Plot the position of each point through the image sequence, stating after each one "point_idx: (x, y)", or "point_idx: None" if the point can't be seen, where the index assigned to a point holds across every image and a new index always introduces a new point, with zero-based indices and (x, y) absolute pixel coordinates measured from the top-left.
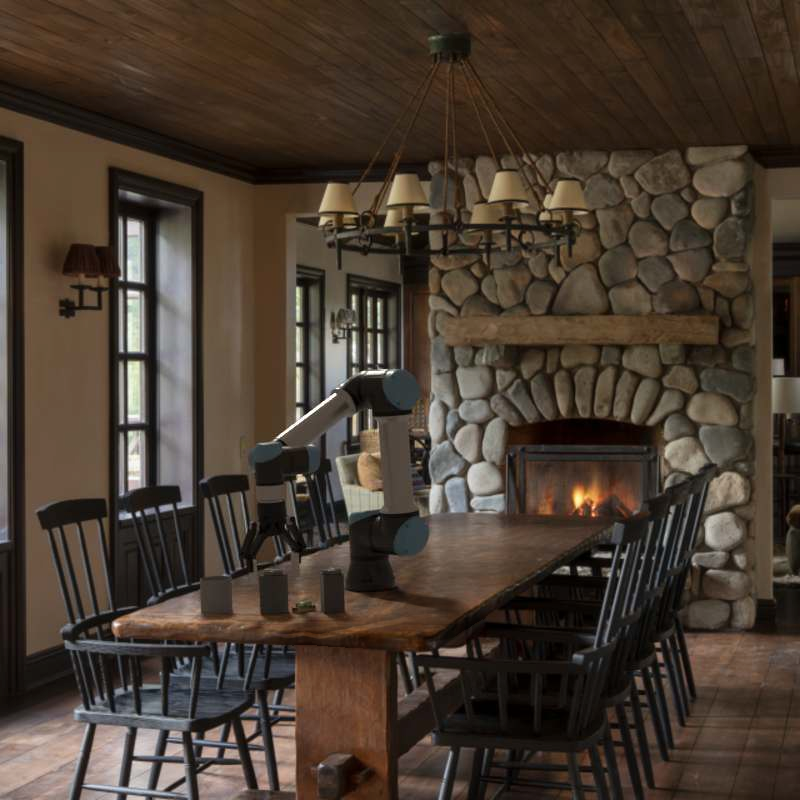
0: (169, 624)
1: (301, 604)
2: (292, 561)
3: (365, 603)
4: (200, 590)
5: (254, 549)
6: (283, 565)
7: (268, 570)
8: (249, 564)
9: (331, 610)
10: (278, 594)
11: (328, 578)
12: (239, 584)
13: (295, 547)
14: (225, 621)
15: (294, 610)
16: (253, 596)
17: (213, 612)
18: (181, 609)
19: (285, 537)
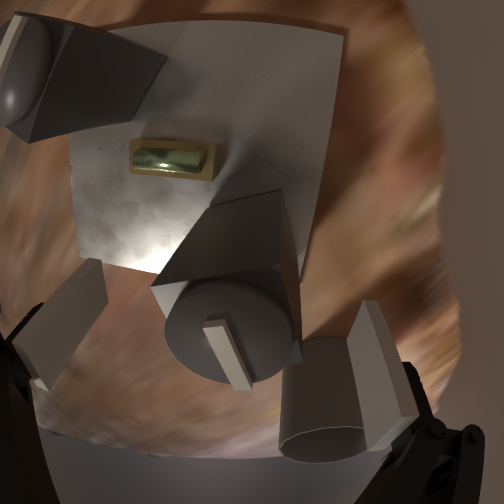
0: (440, 361)
1: (183, 153)
2: (68, 343)
3: (3, 167)
4: (353, 430)
5: (420, 492)
6: (46, 426)
7: (244, 365)
8: (427, 401)
9: (142, 45)
10: (266, 220)
11: (68, 23)
12: (115, 437)
13: (6, 381)
14: (383, 300)
15: (216, 163)
16: (135, 403)
17: None
18: None
19: (37, 496)
